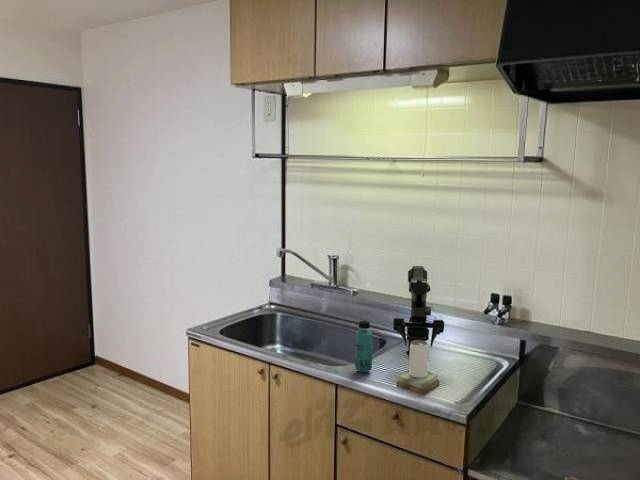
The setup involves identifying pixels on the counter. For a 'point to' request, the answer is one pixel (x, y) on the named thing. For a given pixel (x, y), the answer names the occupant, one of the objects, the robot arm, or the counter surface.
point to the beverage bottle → (363, 347)
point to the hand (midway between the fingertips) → (418, 345)
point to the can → (418, 359)
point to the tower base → (418, 390)
